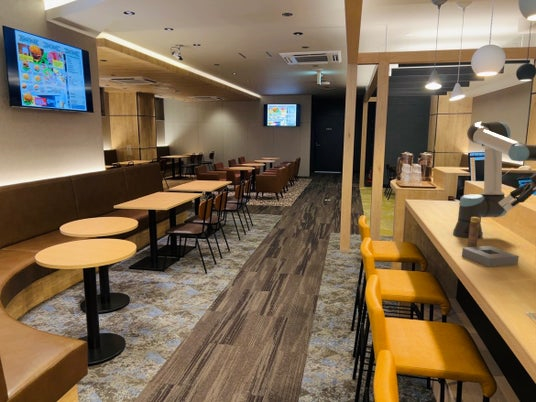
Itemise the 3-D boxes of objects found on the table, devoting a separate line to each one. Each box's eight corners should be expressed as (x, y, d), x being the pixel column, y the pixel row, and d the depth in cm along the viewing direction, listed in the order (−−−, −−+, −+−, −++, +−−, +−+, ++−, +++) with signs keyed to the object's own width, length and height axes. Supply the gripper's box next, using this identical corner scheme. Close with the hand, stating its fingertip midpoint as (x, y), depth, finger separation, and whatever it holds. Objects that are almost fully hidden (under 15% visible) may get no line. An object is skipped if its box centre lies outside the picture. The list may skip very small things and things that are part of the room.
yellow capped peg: (472, 246, 201) (475, 216, 198) (478, 249, 197) (481, 218, 194) (465, 247, 200) (469, 217, 197) (471, 249, 196) (475, 218, 193)
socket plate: (489, 253, 190) (490, 245, 190) (517, 264, 175) (518, 256, 174) (461, 255, 186) (462, 247, 185) (488, 267, 171) (489, 258, 170)
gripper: (557, 187, 170) (513, 217, 178) (541, 181, 192) (503, 208, 201) (544, 174, 171) (501, 205, 179) (530, 170, 193) (492, 197, 202)
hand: (502, 207), depth 190 cm, fingers open, 13 cm apart
